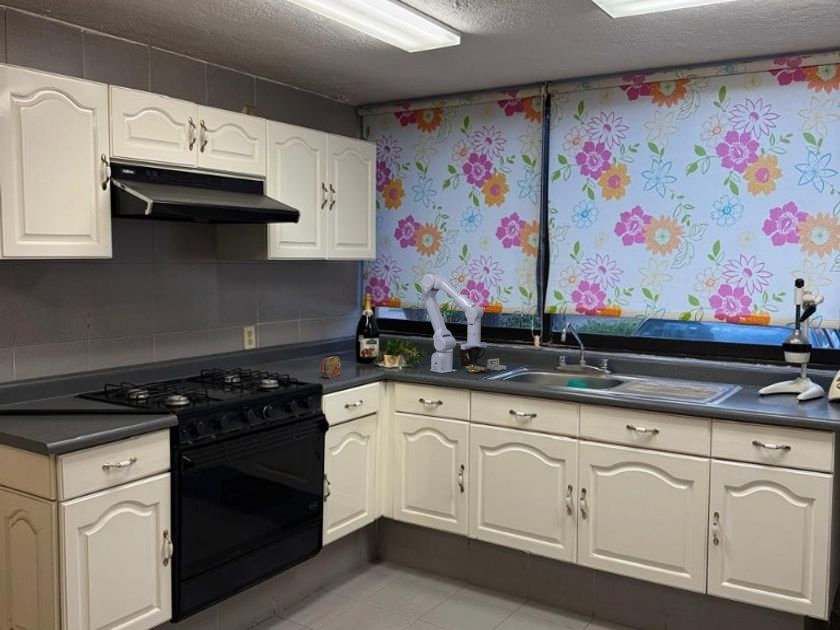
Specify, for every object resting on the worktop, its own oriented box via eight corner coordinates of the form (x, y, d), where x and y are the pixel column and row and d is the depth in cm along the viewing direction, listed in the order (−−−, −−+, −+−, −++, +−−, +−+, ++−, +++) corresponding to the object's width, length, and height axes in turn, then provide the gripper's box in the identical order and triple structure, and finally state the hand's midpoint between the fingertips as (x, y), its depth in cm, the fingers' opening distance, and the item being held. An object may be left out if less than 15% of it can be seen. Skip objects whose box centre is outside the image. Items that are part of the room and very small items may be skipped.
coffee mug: (456, 366, 354) (457, 345, 353) (461, 364, 362) (461, 343, 361) (481, 368, 351) (481, 346, 350) (484, 365, 359) (485, 344, 358)
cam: (464, 371, 339) (464, 364, 339) (473, 370, 343) (474, 363, 343) (483, 374, 331) (483, 367, 331) (492, 373, 335) (492, 366, 335)
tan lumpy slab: (326, 379, 312) (326, 359, 311) (319, 379, 313) (320, 359, 312) (342, 374, 326) (342, 355, 326) (335, 374, 327) (335, 354, 327)
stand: (494, 370, 343) (495, 360, 343) (486, 369, 347) (486, 359, 346) (506, 369, 349) (506, 359, 348) (497, 367, 352) (498, 358, 352)
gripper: (469, 335, 322) (469, 367, 323) (491, 333, 332) (491, 364, 333) (457, 334, 327) (457, 365, 328) (479, 332, 337) (479, 362, 338)
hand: (473, 364), depth 331 cm, fingers closed
